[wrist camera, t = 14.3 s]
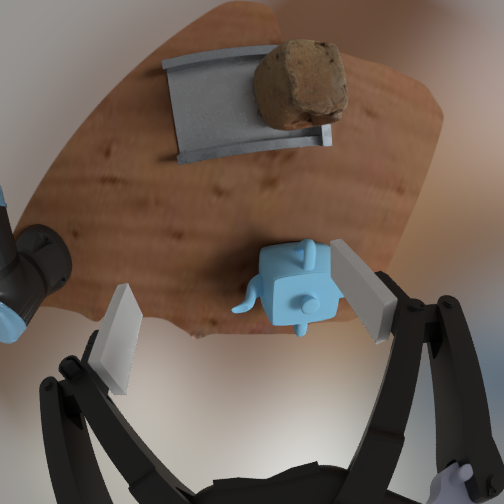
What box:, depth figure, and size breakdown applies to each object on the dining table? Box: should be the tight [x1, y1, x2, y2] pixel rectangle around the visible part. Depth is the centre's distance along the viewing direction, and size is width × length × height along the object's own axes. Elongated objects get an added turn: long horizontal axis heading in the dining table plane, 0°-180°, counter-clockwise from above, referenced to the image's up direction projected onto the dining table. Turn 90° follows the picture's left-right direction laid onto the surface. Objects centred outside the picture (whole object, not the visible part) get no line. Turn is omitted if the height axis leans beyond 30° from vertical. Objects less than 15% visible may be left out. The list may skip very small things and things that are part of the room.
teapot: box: [232, 239, 344, 337], centre depth 49 cm, size 18×16×14 cm
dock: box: [162, 45, 332, 165], centre depth 35 cm, size 25×17×10 cm
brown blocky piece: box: [253, 39, 348, 131], centre depth 31 cm, size 11×8×20 cm
